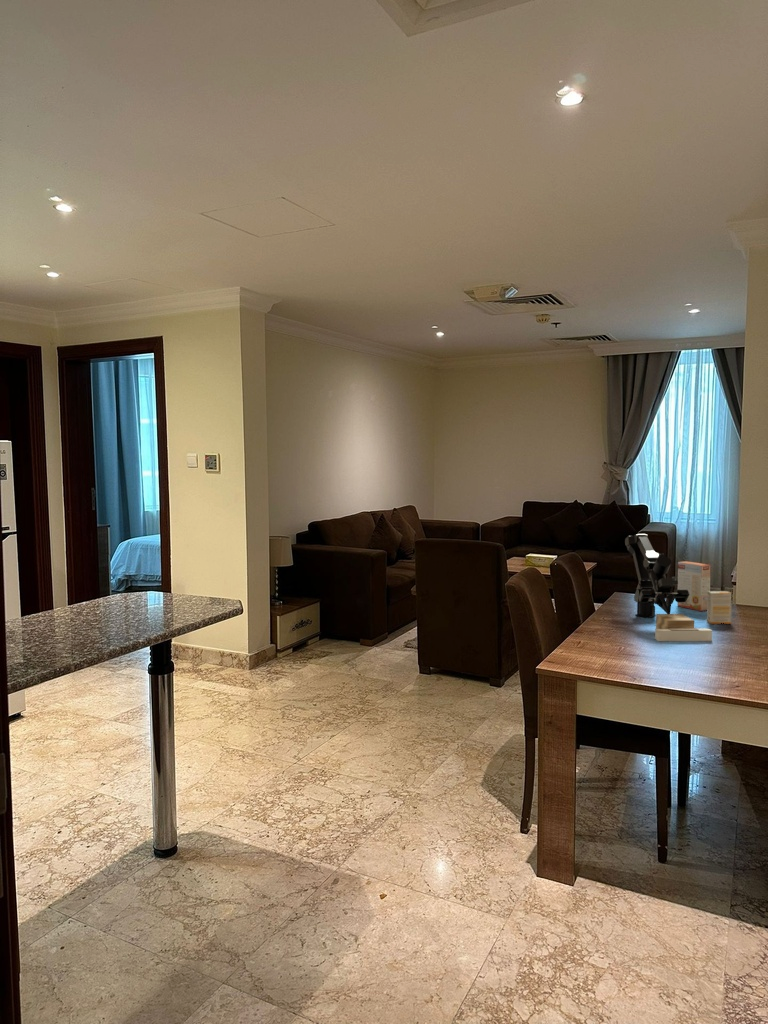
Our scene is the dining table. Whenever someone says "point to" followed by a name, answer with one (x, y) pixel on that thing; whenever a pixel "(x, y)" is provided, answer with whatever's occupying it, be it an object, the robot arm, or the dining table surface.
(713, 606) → the supplement box
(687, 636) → the cream board
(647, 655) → the dining table surface
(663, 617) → the oak block
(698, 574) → the cracker box
